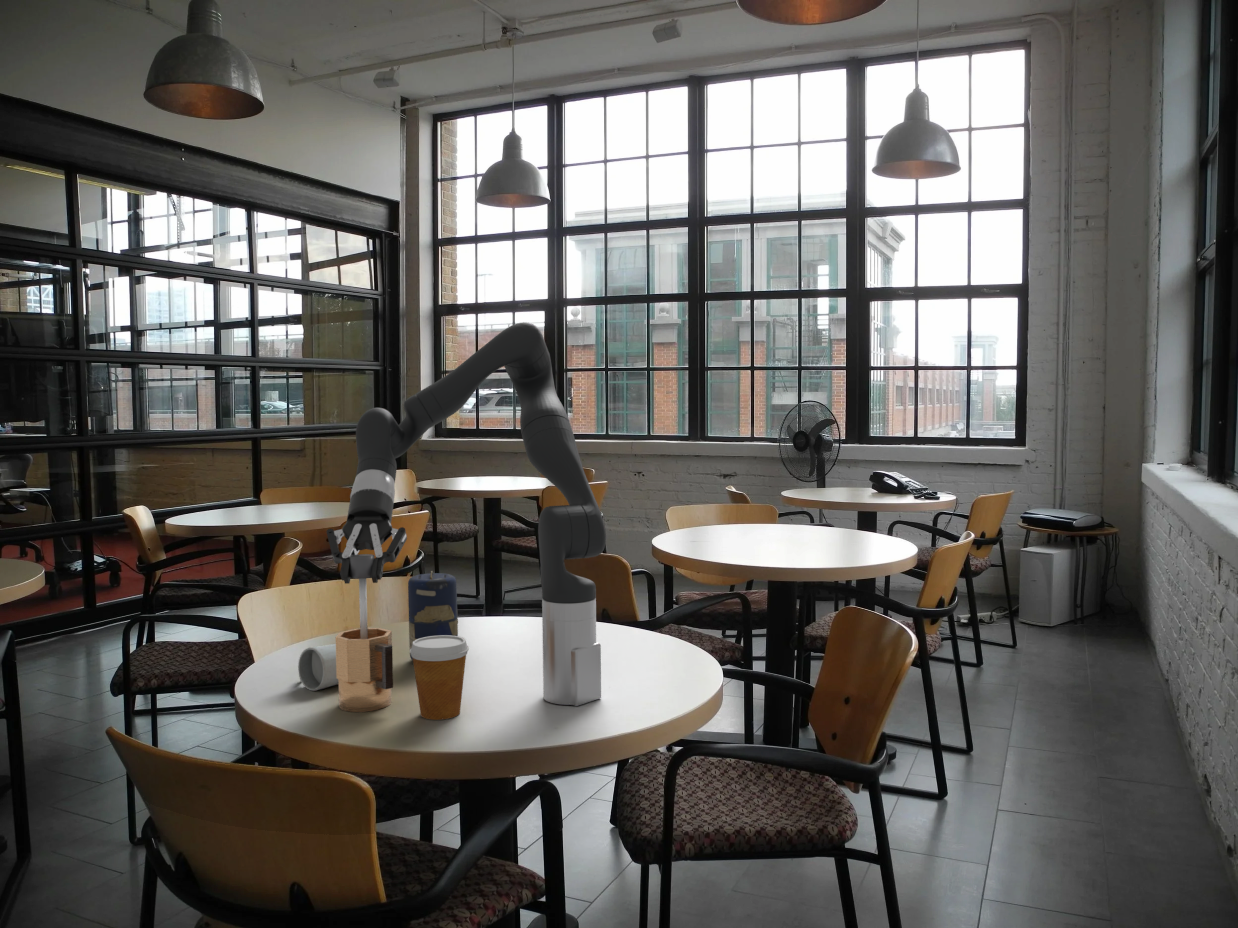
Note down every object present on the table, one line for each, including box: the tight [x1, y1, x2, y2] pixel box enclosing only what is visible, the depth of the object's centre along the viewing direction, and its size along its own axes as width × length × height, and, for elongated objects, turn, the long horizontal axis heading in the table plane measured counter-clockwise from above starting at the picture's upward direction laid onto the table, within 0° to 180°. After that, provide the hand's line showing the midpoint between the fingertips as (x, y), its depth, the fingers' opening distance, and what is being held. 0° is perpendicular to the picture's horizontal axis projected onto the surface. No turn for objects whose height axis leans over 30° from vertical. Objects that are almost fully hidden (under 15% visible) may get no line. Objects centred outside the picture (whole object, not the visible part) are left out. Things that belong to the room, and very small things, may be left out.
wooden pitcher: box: [335, 627, 394, 713], centre depth 158 cm, size 11×9×12 cm
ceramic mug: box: [297, 643, 339, 692], centre depth 172 cm, size 11×8×8 cm
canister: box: [407, 570, 459, 661], centre depth 187 cm, size 10×10×18 cm
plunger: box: [350, 553, 376, 639], centre depth 159 cm, size 4×4×15 cm
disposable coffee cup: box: [409, 635, 470, 721], centre depth 154 cm, size 10×10×12 cm
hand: (360, 580), depth 156 cm, fingers closed on plunger, 4 cm apart
